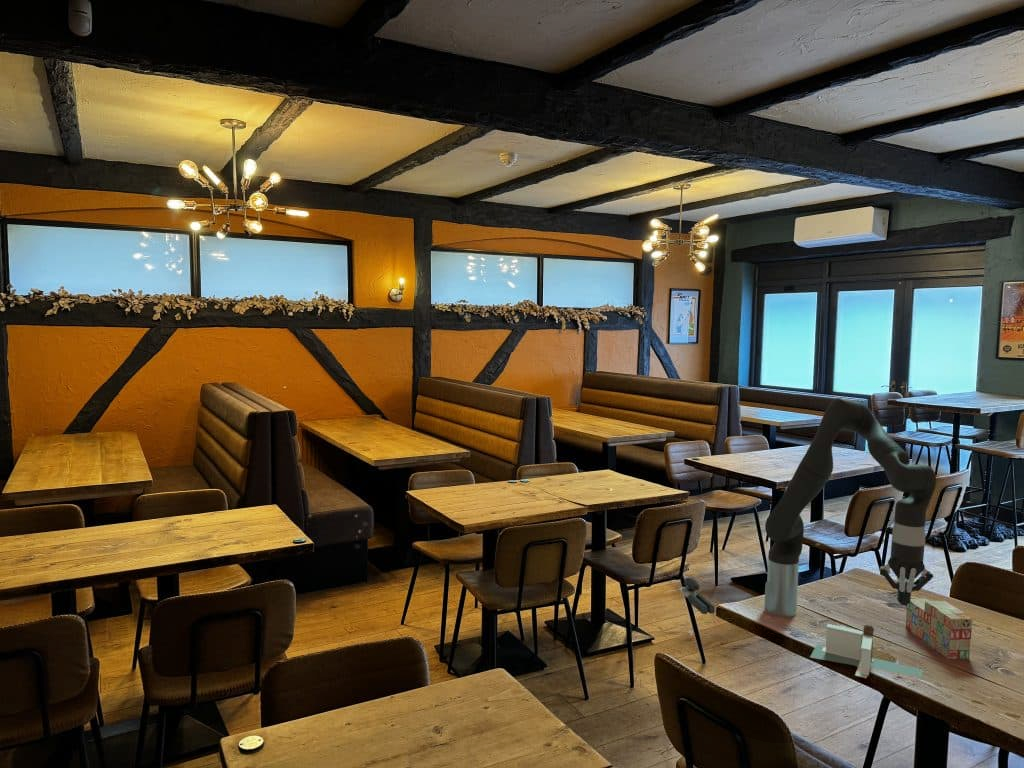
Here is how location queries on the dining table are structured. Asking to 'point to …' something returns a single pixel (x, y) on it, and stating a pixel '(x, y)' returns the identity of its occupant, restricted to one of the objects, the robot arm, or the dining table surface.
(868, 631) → the brown rounded rod
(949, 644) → the stack of blocks
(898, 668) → the board
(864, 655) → the panel
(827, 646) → the panel
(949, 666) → the dining table surface
